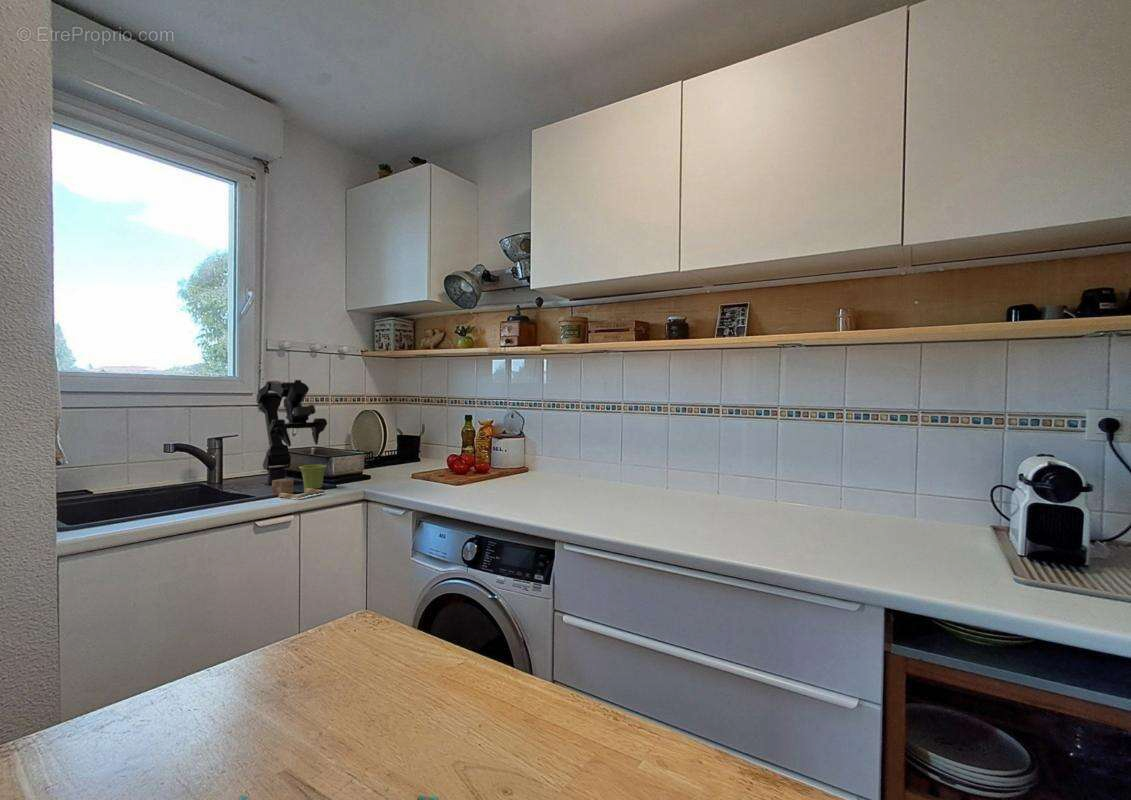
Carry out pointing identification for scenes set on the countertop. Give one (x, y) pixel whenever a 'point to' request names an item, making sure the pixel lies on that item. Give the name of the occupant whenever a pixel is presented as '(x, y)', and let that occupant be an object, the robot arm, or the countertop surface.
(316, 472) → the plant pot
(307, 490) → the oak bay
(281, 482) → the walnut cube
